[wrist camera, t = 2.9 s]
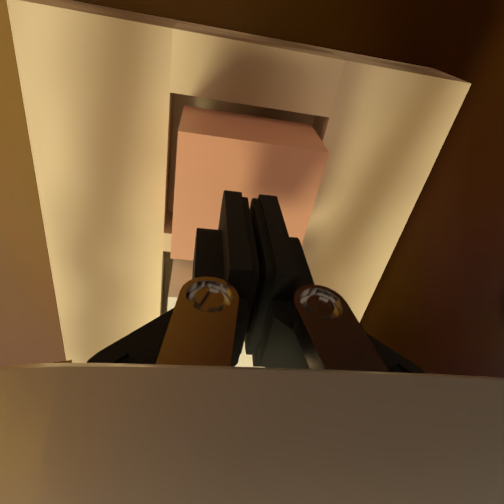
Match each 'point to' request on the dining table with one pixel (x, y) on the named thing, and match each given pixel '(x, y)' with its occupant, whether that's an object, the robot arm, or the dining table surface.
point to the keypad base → (165, 149)
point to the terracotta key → (242, 170)
